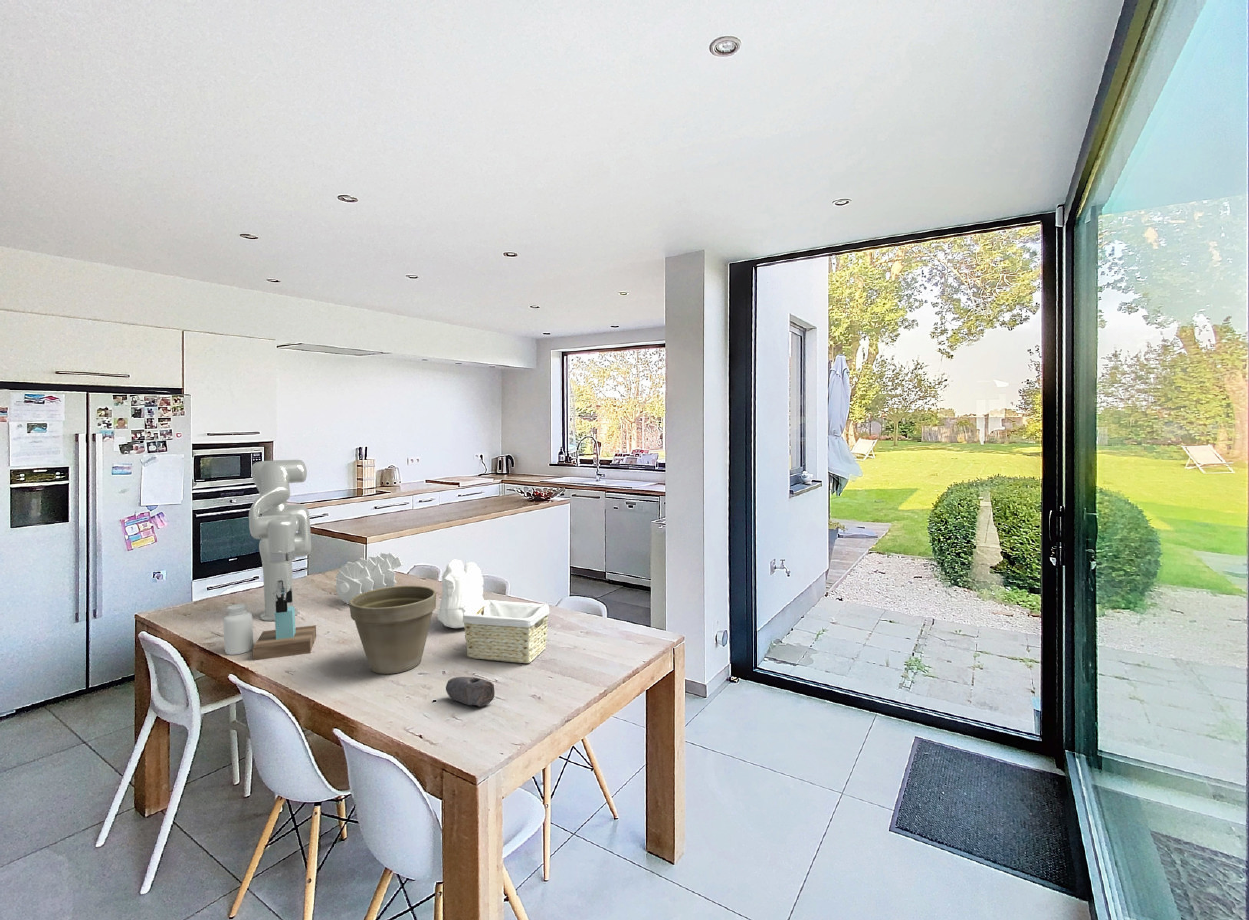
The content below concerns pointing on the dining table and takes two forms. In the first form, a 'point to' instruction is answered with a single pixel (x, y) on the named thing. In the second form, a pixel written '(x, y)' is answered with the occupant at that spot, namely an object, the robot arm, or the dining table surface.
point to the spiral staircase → (366, 575)
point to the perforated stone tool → (470, 690)
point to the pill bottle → (238, 630)
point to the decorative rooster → (459, 592)
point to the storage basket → (506, 631)
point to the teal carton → (285, 623)
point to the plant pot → (393, 625)
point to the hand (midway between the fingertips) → (284, 607)
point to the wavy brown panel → (284, 643)
